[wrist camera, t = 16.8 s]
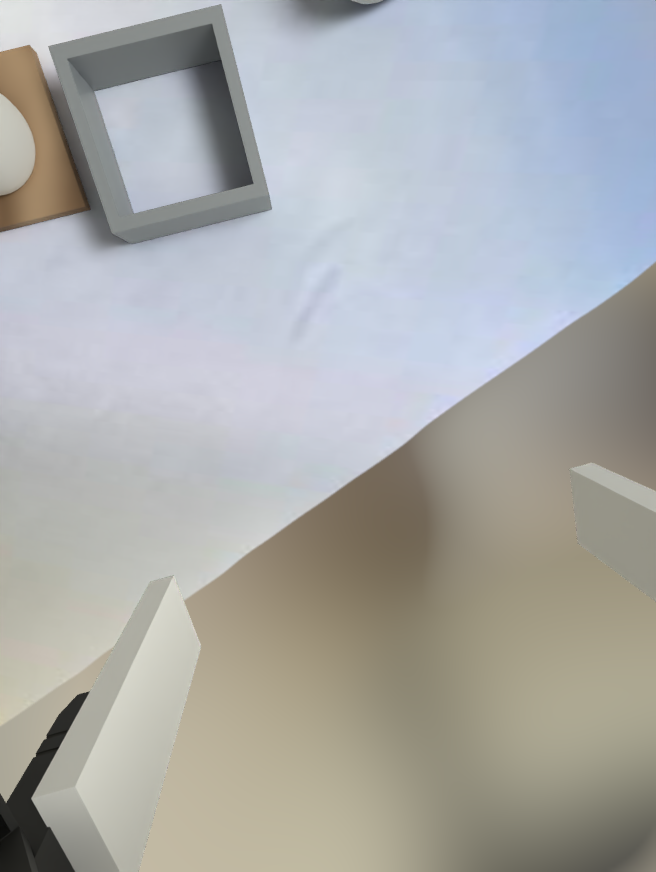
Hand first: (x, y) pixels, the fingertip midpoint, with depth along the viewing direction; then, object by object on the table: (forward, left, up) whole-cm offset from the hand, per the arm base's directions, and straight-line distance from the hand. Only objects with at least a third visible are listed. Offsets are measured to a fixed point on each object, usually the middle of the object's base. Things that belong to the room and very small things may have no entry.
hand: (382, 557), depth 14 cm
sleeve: (-7, +25, -31) cm, 40 cm away
